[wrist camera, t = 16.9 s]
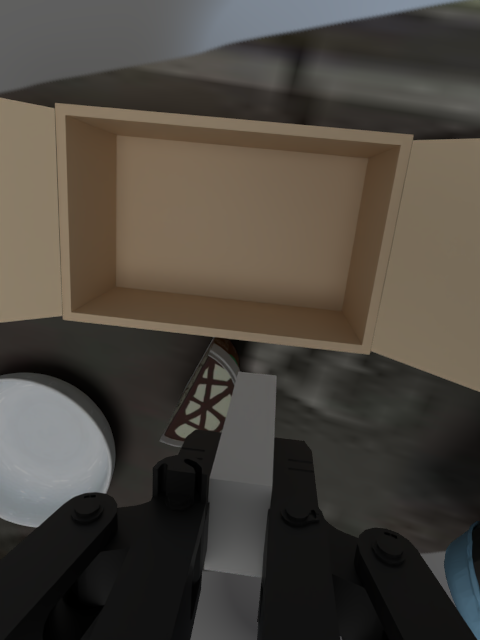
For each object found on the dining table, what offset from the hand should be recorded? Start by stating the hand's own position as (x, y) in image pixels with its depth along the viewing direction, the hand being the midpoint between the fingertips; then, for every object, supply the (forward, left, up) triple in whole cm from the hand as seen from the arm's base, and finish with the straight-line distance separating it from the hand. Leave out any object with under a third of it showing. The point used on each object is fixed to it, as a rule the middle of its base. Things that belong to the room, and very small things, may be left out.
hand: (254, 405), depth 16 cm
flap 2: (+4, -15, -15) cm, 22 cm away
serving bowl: (-25, +26, -32) cm, 48 cm away
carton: (+4, +4, -32) cm, 33 cm away
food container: (-14, +4, -32) cm, 35 cm away
